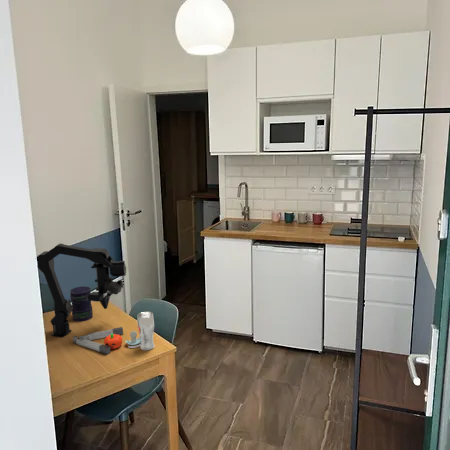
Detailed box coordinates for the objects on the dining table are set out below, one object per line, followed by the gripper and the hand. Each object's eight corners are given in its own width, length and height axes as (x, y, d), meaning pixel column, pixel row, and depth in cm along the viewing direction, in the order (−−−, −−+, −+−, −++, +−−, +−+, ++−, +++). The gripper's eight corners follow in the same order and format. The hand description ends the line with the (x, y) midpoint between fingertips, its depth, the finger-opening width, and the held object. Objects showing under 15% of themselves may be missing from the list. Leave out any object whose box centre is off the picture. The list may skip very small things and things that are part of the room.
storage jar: (88, 312, 217) (85, 285, 214) (96, 317, 210) (94, 289, 207) (69, 317, 210) (66, 289, 207) (77, 323, 203) (74, 294, 200)
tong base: (72, 342, 183) (71, 336, 183) (75, 341, 185) (75, 335, 184) (106, 355, 172) (106, 348, 172) (110, 352, 174) (110, 346, 173)
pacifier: (144, 346, 179) (141, 340, 185) (144, 333, 178) (140, 327, 183) (127, 350, 176) (124, 344, 181) (127, 337, 175) (123, 331, 180)
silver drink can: (151, 351, 174) (149, 318, 171) (136, 350, 176) (134, 317, 173) (157, 344, 181) (156, 311, 178) (142, 342, 182) (140, 310, 179)
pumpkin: (125, 348, 179) (125, 335, 177) (107, 353, 175) (106, 340, 173) (119, 340, 185) (118, 327, 183) (101, 345, 180) (100, 332, 178)
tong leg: (79, 342, 183) (79, 336, 183) (79, 340, 185) (78, 334, 185) (123, 334, 191) (122, 328, 190) (122, 332, 192) (122, 326, 192)
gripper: (107, 284, 178) (110, 318, 181) (129, 271, 195) (131, 302, 199) (85, 282, 181) (88, 316, 184) (108, 270, 199) (110, 300, 202)
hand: (105, 308), depth 192 cm, fingers closed
